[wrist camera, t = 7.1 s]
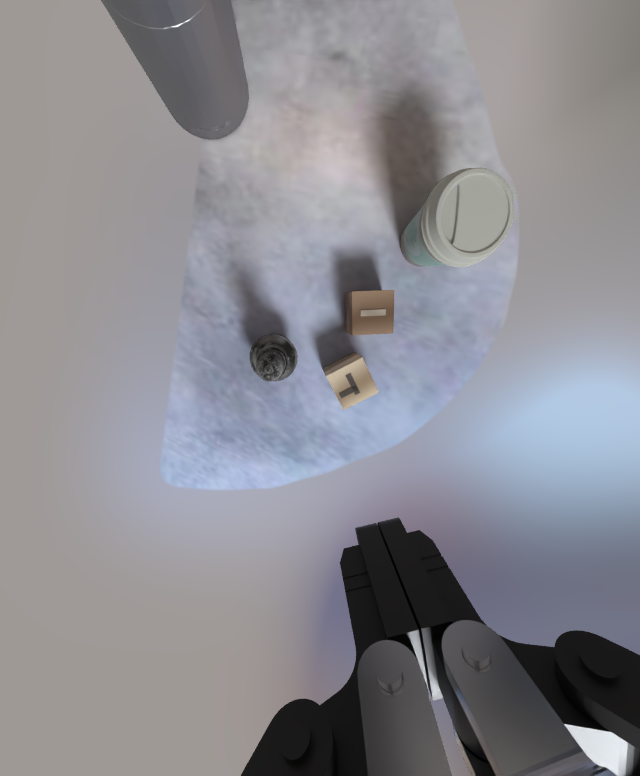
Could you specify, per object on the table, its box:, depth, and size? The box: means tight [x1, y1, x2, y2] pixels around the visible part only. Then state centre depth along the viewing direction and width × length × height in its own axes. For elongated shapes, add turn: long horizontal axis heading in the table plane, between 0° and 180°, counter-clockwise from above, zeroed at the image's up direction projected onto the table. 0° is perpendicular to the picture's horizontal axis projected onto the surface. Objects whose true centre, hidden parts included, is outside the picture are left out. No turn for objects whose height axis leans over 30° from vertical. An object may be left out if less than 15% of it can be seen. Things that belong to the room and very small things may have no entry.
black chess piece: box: [250, 334, 297, 381], centre depth 36 cm, size 6×6×12 cm
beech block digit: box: [323, 352, 379, 410], centre depth 41 cm, size 5×5×5 cm
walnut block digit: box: [345, 290, 394, 335], centre depth 39 cm, size 5×5×5 cm
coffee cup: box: [400, 168, 514, 267], centre depth 34 cm, size 8×8×12 cm
